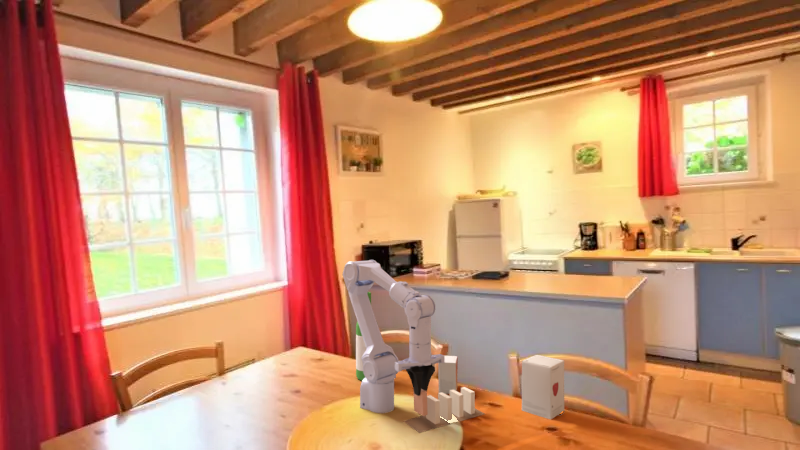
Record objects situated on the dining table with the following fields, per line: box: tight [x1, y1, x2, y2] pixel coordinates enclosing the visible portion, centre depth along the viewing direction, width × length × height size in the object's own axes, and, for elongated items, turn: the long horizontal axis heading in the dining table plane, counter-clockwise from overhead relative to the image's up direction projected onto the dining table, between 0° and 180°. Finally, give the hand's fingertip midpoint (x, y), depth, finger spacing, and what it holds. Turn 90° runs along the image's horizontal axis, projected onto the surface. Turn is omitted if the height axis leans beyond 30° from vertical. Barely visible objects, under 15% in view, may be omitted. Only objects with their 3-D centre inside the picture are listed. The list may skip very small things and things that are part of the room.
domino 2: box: [426, 394, 440, 424], centre depth 118 cm, size 1×4×6 cm, turn 31°
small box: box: [437, 355, 459, 395], centre depth 141 cm, size 8×6×10 cm
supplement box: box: [521, 354, 565, 420], centre depth 125 cm, size 9×9×15 cm
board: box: [402, 408, 486, 434], centre depth 120 cm, size 22×8×1 cm, turn 121°
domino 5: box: [460, 386, 476, 414], centre depth 124 cm, size 1×4×6 cm, turn 31°
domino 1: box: [412, 389, 428, 416], centre depth 116 cm, size 1×4×6 cm, turn 30°
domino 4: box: [449, 390, 463, 418], centre depth 122 cm, size 1×4×6 cm, turn 30°
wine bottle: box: [355, 291, 379, 382], centre depth 154 cm, size 8×8×30 cm
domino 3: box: [437, 392, 452, 421], centre depth 120 cm, size 1×4×6 cm, turn 30°
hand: (420, 393), depth 116 cm, fingers closed on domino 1, 1 cm apart
